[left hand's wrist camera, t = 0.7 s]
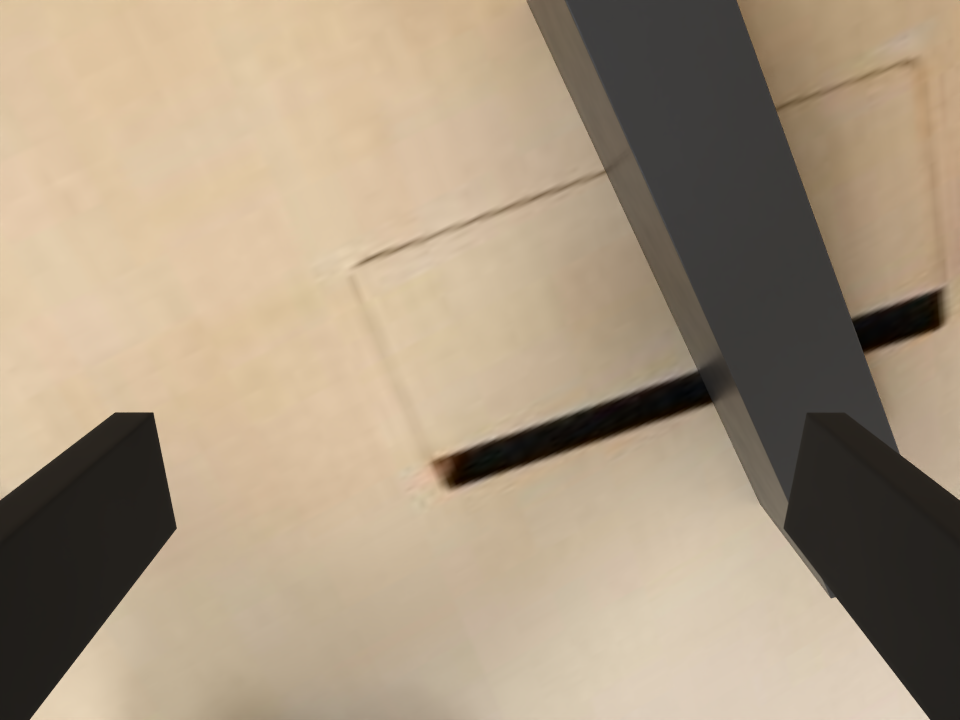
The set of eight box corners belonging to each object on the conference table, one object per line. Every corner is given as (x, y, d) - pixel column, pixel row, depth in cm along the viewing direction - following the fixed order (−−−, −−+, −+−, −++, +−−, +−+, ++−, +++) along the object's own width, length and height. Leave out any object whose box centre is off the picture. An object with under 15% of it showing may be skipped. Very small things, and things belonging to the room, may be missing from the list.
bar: (842, 468, 40) (937, 556, 32) (760, 504, 41) (831, 599, 33) (629, -65, 30) (686, -141, 21) (526, 0, 31) (542, -49, 22)
